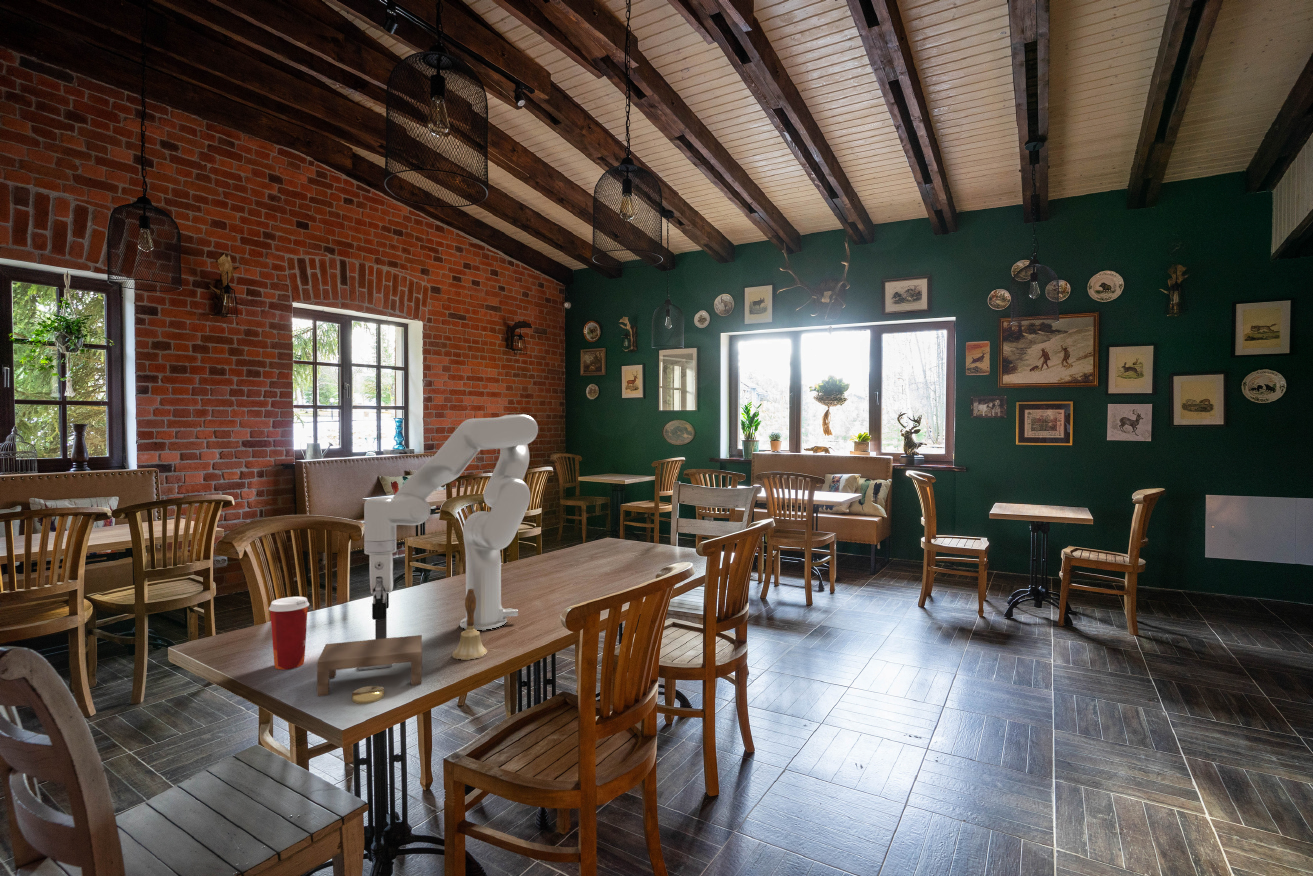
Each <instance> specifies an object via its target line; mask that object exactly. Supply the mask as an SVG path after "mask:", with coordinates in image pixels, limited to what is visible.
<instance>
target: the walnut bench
mask: <svg viewBox="0 0 1313 876" xmlns="http://www.w3.org/2000/svg"><path fill="white" fill-rule="evenodd" d="M405 663H410V664H411V665H410V674H411V678H410V679H411V681H410V682H411V683H410V684H411V686H415V685H422V669H423V668H422V667H423V635H422V634H420V635H419V634H418V635H409V636H408V635H407V636H398V637H397V636H395V638H393V637H387V638H385V639H374V640H372V639H364V640H356V641H355V640H354V641H345V642H336V643H335V642H334V643H326V644H325V646H324V647H323V649H322V652H321V653H320V656H319V658H318V660H317V661H316V685H317V686H316V687H317V688H316V689H317V690H316V691H317V693H316V696H317V697H323V696H329V694H330V688H331V687H330V685H331V684H330V682H331V681H330V679H334V678H336V676H337V671H338V670H348V669H359V667H368V666H378V665H387V664H393V665H395V664H405Z"/></svg>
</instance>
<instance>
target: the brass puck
mask: <svg viewBox="0 0 1313 876" xmlns="http://www.w3.org/2000/svg"><path fill="white" fill-rule="evenodd" d="M383 696H384V697H385V688H384V687H383V686H379V685H369V686H363V687H360V688H358V689H355V690H354V691H353V692H352V694H351V701H352V702H353V703H354V704H358V705H359V704H360V705H361V704H365V705H367V704H372V703H375V701H376V702H378V701H380V700H381V699H383V698H384V697H383Z"/></svg>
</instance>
